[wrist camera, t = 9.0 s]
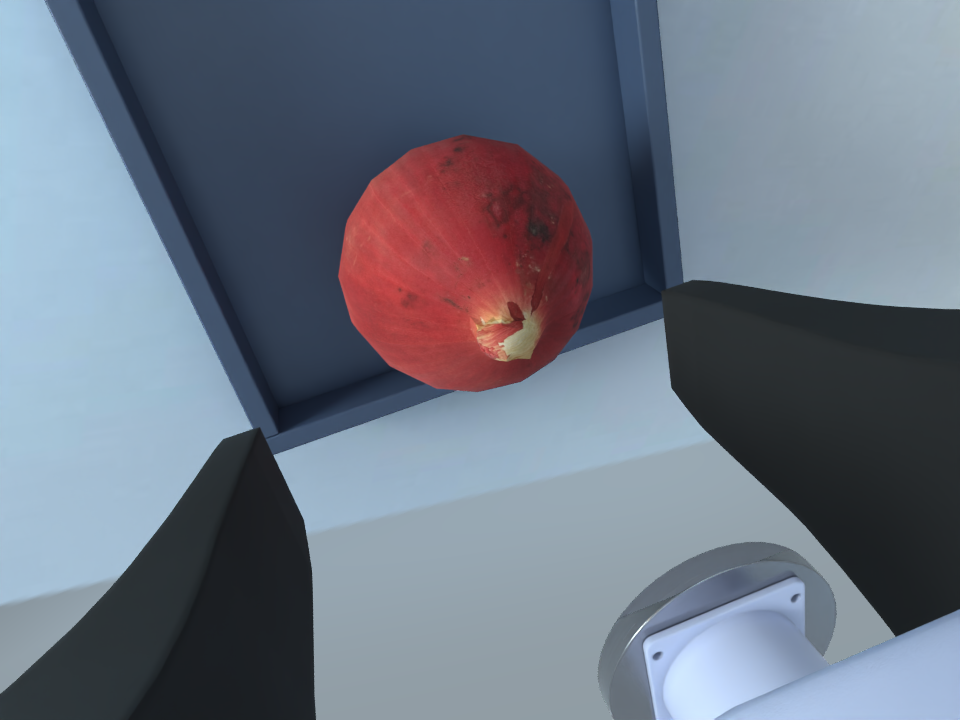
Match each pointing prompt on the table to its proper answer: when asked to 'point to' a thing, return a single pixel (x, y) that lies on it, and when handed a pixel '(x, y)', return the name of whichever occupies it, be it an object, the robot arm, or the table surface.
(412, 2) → the tray
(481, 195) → the red pomegranate
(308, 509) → the table surface
